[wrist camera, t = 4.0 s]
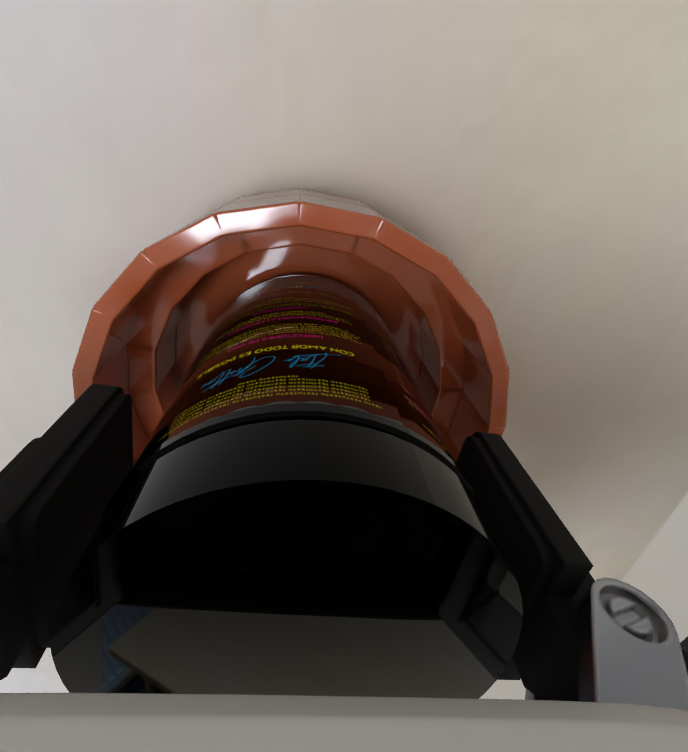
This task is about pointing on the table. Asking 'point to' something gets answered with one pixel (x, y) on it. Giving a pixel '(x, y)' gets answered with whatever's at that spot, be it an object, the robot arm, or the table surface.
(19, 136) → the table surface
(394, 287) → the terracotta bowl
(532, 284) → the table surface
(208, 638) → the supplement container
